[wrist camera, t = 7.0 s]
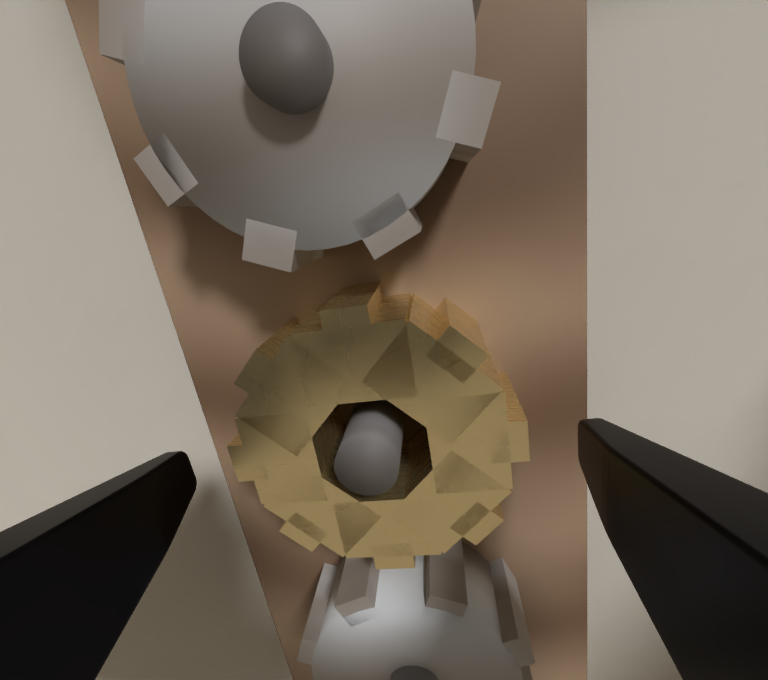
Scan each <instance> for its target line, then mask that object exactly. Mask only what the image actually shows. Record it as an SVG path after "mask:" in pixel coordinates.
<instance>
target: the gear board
mask: <svg viewBox="0 0 768 680" xmlns="http://www.w3.org/2000/svg"><path fill="white" fill-rule="evenodd" d="M65 2H66V5H67V7H68V10H69V13H70V16H71V19H72V22H73V25H74V28H75V31H76V34H77V37H78V40H79V43H80V46H81V49H82V52H83V55H84V58H85V61H86V64H87V67H88V70H89V73H90V76H91V79H92V82H93V85H94V88H95V91H96V94H97V97H98V100H99V103H100V106H101V109H102V112H103V115H104V118H105V121H106V124H107V127H108V130H109V133H110V136H111V138H112V141H113V144H114V147H115V150H116V153H117V156H118V159H119V162H120V165H121V168H122V171H123V174H124V177H125V180H126V183H127V186H128V189H129V192H130V195H131V198H132V201H133V204H134V207H135V210H136V213H137V216H138V219H139V222H140V225H141V228H142V231H143V234H144V237H145V240H146V243H147V246H148V249H149V252H150V255H151V258H152V261H153V264H154V267H155V270H156V272H157V275H158V278H159V281H160V284H161V287H162V290H163V293H164V296H165V299H166V302H167V305H168V308H169V311H170V314H171V317H172V320H173V323H174V326H175V329H176V332H177V335H178V338H179V341H180V344H181V347H182V350H183V353H184V356H185V359H186V362H187V365H188V368H189V371H190V374H191V377H192V380H193V383H194V386H195V389H196V392H197V395H198V398H199V401H200V403H201V406H202V409H203V412H204V415H205V418H206V421H207V424H208V427H209V430H210V433H211V436H212V439H213V442H214V445H215V448H216V451H217V454H218V457H219V460H220V463H221V466H222V469H223V472H224V475H225V478H226V481H227V484H228V487H229V490H230V493H231V496H232V499H233V502H234V505H235V508H236V511H237V514H238V517H239V520H240V523H241V526H242V529H243V532H244V535H245V537H246V540H247V543H248V546H249V549H250V552H251V555H252V558H253V561H254V564H255V567H256V570H257V573H258V576H259V579H260V582H261V585H262V588H263V591H264V594H265V597H266V600H267V603H268V606H269V609H270V612H271V615H272V618H273V621H274V624H275V627H276V630H277V633H278V636H279V639H280V642H281V645H282V648H283V651H284V654H285V657H286V660H287V663H288V666H289V668H290V671H291V674H292V677H293V680H587V482H586V479H585V477H584V474H583V472H582V469H581V466H580V463H579V458H578V423H579V421H580V420H583V419H587V0H65ZM378 281H382V286H383V292H384V296H389V295H396V294H404V293H411V296H412V295H413V294H416V295H417V296H418V297H420V298H421V299H422V300H424V301H425V302H426V303H428V304H429V305H431V306H432V307H433V308H435V309H436V308H437V307H438V306H439V304H440V303H441V302H442V301H443V299H444V298H445V297H446V298H447V299H449V300H450V301H451V302H453V303H454V304H455V305H457V306H458V307H459V308H461V309H462V310H463V311H465V312H466V313H467V314H469V315H470V316H471V317H473V318H474V319H475V320H476V321H477V324H478V326H479V329H480V331H481V334H482V336H483V339H484V341H485V344H486V346H487V348H488V350H489V352H490V355H491V357H492V360H493V362H494V365H495V367H496V370H497V372H498V373H505V372H506V374H507V376H508V378H509V380H510V382H511V385H512V387H513V389H514V391H515V394H516V396H517V398H518V400H519V403H520V405H521V407H522V409H523V411H524V414H525V416H526V418H527V420H528V436H529V452H530V461H527V462H513V463H511V470H512V483H513V489H511V491H512V492H511V493H510V494H509V495H508V496H507V497H506V498H505V499H504V500H502V501H501V502H500V503H501V508H502V512H503V516H504V521H503V522H502V523H501V524H500V525H499V526H498V527H496V528H495V529H494V530H493V531H492V532H491V533H490V534H488V535H487V536H486V537H485V538H484V539H483V540H482V541H481V542H479V543H478V544H477V545H474V544H473V543H471V542H470V541H468V540H467V539H466V538H464V537H462V538H461V539H460V540H459V541H458V542H456V543H455V544H454V545H453V546H452V547H451V548H450V549H449V550H448V551H447V552H446V553H443V552H441V555H420V556H416V560H415V568H404V569H376V567H375V563H374V559H373V557H364V558H346V556H344V557H342V556H340V555H339V554H337V553H336V552H334V551H332V550H331V549H329V548H328V547H326V546H325V545H323V544H321V543H320V544H319V545H318V546H317V547H316V548H315V549H314V550H313V551H312V552H311V551H310V550H308V549H307V548H305V547H303V546H302V545H300V544H299V543H297V542H295V541H294V540H292V539H291V538H289V537H287V536H286V535H284V534H283V533H281V532H280V531H279V530H280V528H281V526H282V524H283V522H284V519H282V518H280V517H279V516H277V515H276V514H274V513H273V512H271V511H269V510H268V509H266V508H265V507H263V506H264V504H261V502H260V498H259V495H258V492H257V489H256V486H255V483H254V481H242V482H238V479H237V476H236V473H235V470H234V467H233V464H232V461H231V458H230V455H229V452H228V449H227V445H228V444H229V443H230V442H231V441H232V439H233V438H234V437H235V436H236V435H237V433H238V429H237V426H236V423H235V420H234V418H235V417H236V416H235V414H236V413H237V411H238V410H239V408H240V407H241V405H242V404H243V402H244V401H245V399H246V398H247V396H248V395H249V394H248V393H247V392H245V391H244V390H242V389H241V388H239V387H238V386H236V385H235V384H234V382H235V381H236V379H237V378H238V376H239V374H240V373H241V371H242V370H243V368H244V367H245V365H246V363H247V362H248V360H249V359H250V357H251V356H252V354H253V352H254V351H255V350H256V349H257V348H258V347H259V346H260V345H262V344H263V343H264V342H265V341H266V340H268V339H269V338H270V337H271V336H272V335H273V334H275V333H276V332H277V331H278V330H279V329H281V328H282V327H283V326H284V325H285V324H287V323H288V322H289V321H290V320H291V319H292V318H294V319H296V320H297V321H298V322H300V323H302V322H303V321H304V320H305V319H306V318H307V317H308V316H309V315H310V314H312V313H313V312H314V311H315V310H316V309H317V308H318V307H320V306H321V305H325V304H326V303H327V302H329V301H330V300H331V299H332V298H333V297H334V296H335V295H336V294H337V293H338V292H339V291H340V290H341V289H342V288H343V287H344V286H351V285H358V284H365V283H372V282H378ZM340 408H341V412H342V417H343V421H344V422H345V423H346V424H347V427H346V430H345V433H344V436H343V438H342V441H341V444H340V446H339V449H338V452H337V454H336V457H335V460H334V471H335V474H336V476H337V478H338V480H339V481H340V483H341V484H342V485H343V486H344V487H346V488H347V489H348V490H350V491H352V492H354V493H357V494H360V495H366V496H373V495H379V494H382V493H384V492H386V491H388V490H389V489H390V488H391V487H393V485H394V484H395V482H396V481H397V478H398V474H399V466H400V457H401V449H402V440H406V439H410V438H411V437H412V436H413V435H414V434H415V432H416V431H417V430H418V429H419V428H420V427H421V426H422V424H420V423H419V422H418V421H416V420H415V419H413V418H412V417H410V416H409V415H408V414H406V413H405V412H403V411H402V410H400V409H399V408H398V407H396V406H395V405H393V404H392V403H390V402H389V401H387V400H377V401H367V402H357V403H347V404H340Z"/></svg>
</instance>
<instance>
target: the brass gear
mask: <svg viewBox="0 0 768 680" xmlns="http://www.w3.org/2000/svg"><path fill="white" fill-rule="evenodd" d="M234 384H235V385H236V386H238V387H239V388H241V389H242V390H244V391H245V392H247V393H248V394H249V395H248V396H247V398H246V399H245V401H244V402H243V404H242V405H241V407H240V408H239V410H238V411H237V413H236V414H235V416H236V417H235V418H234V420H235V423H236V426H237V429H238V433H237V435H236V436H235V437H234V438H233V439H232V441H231V442H230V443H229V444H228V445H227V449H228V452H229V455H230V458H231V461H232V464H233V467H234V470H235V473H236V476H237V479H238V482H242V481H254V483H255V486H256V489H257V492H258V495H259V498H260V502H261V504H264V506H263V507H265V508H266V509H268V510H269V511H271V512H273V513H274V514H276V515H277V516H279V517H280V518H282V519H284V522H283V524H282V526H281V528H280V530H279V531H280V532H281V533H283V534H284V535H286V536H287V537H289V538H291V539H292V540H294V541H295V542H297V543H299V544H300V545H302V546H303V547H305V548H307V549H308V550H310V551H311V552H312V551H313V550H314V549H315V548H316V547H317V546H318V545H319V544H320V543H321V544H323V545H325V546H326V547H328V548H329V549H331V550H332V551H334V552H336V553H337V554H339V555H340V556H342V557H344V556H346V558H364V557H373V559H374V563H375V567H376V569H404V568H415V560H416V556H420V555H441V552H443V553H446V552H447V551H448V550H449V549H450V548H451V547H452V546H453V545H454V544H455V543H456V542H458V541H459V540H460V539H461V538H462V537H464V538H466V539H467V540H468V541H470V542H471V543H473V544H474V545H477V544H478V543H479V542H481V541H482V540H483V539H484V538H485V537H486V536H487V535H488V534H490V533H491V532H492V531H493V530H494V529H495V528H496V527H498V526H499V525H500V524H501V523H502V522H503V521H504V516H503V512H502V508H501V503H500V502H501V501H502V500H504V499H505V498H506V497H507V496H508V495H509V494H510V493H511V492H512V491H511V489H513V483H512V470H511V463H513V462H527V461H530V452H529V436H528V420H527V418H526V416H525V414H524V411H523V409H522V407H521V405H520V403H519V400H518V398H517V396H516V394H515V391H514V389H513V387H512V385H511V382H510V380H509V378H508V376H507V374H506V372H505V373H498V372H497V370H496V367H495V365H494V362H493V360H492V357H491V355H490V352H489V350H488V348H487V346H486V344H485V341H484V339H483V336H482V334H481V331H480V329H479V326H478V324H477V321H476V320H475V319H474V318H473V317H471V316H470V315H469V314H467V313H466V312H465V311H463V310H462V309H461V308H459V307H458V306H457V305H455V304H454V303H453V302H451V301H450V300H449V299H447V298H446V297H445V298H444V299H443V301H442V302H441V303H440V304H439V306H438V307H437V308H436V309H435V308H433V307H432V306H431V305H429V304H428V303H426V302H425V301H424V300H422V299H421V298H420V297H418V296H417V295H416V294H413V295H412V296H411V293H404V294H396V295H389V296H384V292H383V286H382V281H378V282H372V283H365V284H358V285H351V286H344V287H343V288H342V289H341V290H340V291H339V292H338V293H337V294H336V295H335V296H334V297H333V298H332V299H331V300H330V301H329V302H327V303H326V304H325V305H321V306H320V307H318V308H317V309H316V310H315V311H314V312H313V313H312V314H310V315H309V316H308V317H307V318H306V319H305V320H304V321H303V322H302V323H300V322H298V321H297V320H296V319H294V318H292V319H291V320H290V321H289V322H288V323H287V324H285V325H284V326H283V327H282V328H281V329H279V330H278V331H277V332H276V333H275V334H273V335H272V336H271V337H270V338H269V339H268V340H266V341H265V342H264V343H263V344H262V345H260V346H259V347H258V348H257V349H256V350H255V351H254V352H253V354H252V356H251V357H250V359H249V360H248V362H247V363H246V365H245V367H244V368H243V370H242V371H241V373H240V374H239V376H238V378H237V379H236V381H235V382H234ZM377 400H387V401H389V402H390V403H392V404H393V405H395V406H396V407H398V408H399V409H400V410H402V411H403V412H405V413H406V414H408V415H409V416H410V417H412V418H413V419H415V420H416V421H418V422H419V423H420V424H422V426H421V427H420V428H419V429H418V430H417V431H416V432H415V434H414V435H413V436H412V437H411V438H410V439H406V440H402V449H401V457H400V466H399V474H398V478H397V481H396V482H395V484H394V485H393V487H391V488H390V489H389V490H388V491H386V492H384V493H382V494H379V495H373V496H366V495H360V494H357V493H354V492H352V491H350V490H348V489H347V488H346V487H344V486H343V485H342V484H341V483H340V481H339V480H338V478H337V476H336V474H335V471H334V460H335V457H336V454H337V452H338V449H339V446H340V444H341V441H342V438H343V436H344V433H345V430H346V427H347V424H346V423H345V422H344V421H343V417H342V412H341V408H340V404H347V403H357V402H367V401H377Z"/></svg>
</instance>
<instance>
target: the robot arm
mask: <svg viewBox="0 0 768 680" xmlns="http://www.w3.org/2000/svg"><path fill="white" fill-rule="evenodd" d="M578 458H579V463H580V466H581V469H582V472H583V474H584V477H585V479H586V482H587V484H588V487H589V490H590V492H591V495H592V497H593V500H594V503H595V505H596V508H597V510H598V513H599V516H600V518H601V521H602V523H603V526H604V528H605V531H606V533H607V535H608V537H609V539H610V541H611V543H612V545H613V547H614V549H615V551H616V553H617V555H618V557H619V559H620V560H621V562H622V564H623V566H624V568H625V570H626V572H627V574H628V576H629V578H630V580H631V581H632V583H633V585H634V587H635V589H636V591H637V593H638V595H639V597H640V599H641V601H642V602H643V604H644V606H645V608H646V610H647V612H648V614H649V616H650V618H651V620H652V622H653V623H654V625H655V627H656V629H657V631H658V633H659V635H660V637H661V639H662V641H663V643H664V644H665V646H666V648H667V650H668V652H669V654H670V656H671V658H672V660H673V662H674V664H675V665H676V667H677V669H678V671H679V673H680V675H681V677H682V679H683V680H768V493H766V492H764V491H762V490H759V489H757V488H755V487H753V486H751V485H748V484H746V483H744V482H742V481H739V480H737V479H735V478H733V477H730V476H728V475H726V474H724V473H722V472H719V471H717V470H715V469H713V468H710V467H708V466H706V465H704V464H701V463H699V462H697V461H695V460H693V459H690V458H688V457H686V456H684V455H681V454H679V453H677V452H675V451H672V450H670V449H668V448H666V447H664V446H661V445H659V444H657V443H655V442H652V441H650V440H648V439H646V438H643V437H641V436H639V435H637V434H635V433H632V432H630V431H628V430H626V429H623V428H621V427H619V426H617V425H614V424H612V423H610V422H608V421H606V420H603V419H601V418H594V419H583V420H580V421H579V423H578ZM196 484H197V482H196V477H195V474H194V472H193V469H192V466H191V463H190V461H189V458H188V456H187V454H186V453H185V452H182V451H177V452H167V453H164V454H162V455H160V456H158V457H156V458H154V459H152V460H150V461H148V462H146V463H144V464H142V465H139V466H137V467H135V468H133V469H131V470H129V471H127V472H125V473H123V474H121V475H119V476H116V477H114V478H112V479H110V480H108V481H106V482H104V483H102V484H100V485H98V486H96V487H93V488H91V489H89V490H87V491H85V492H83V493H81V494H79V495H77V496H75V497H73V498H71V499H68V500H66V501H64V502H62V503H60V504H58V505H56V506H54V507H52V508H50V509H48V510H45V511H43V512H41V513H39V514H37V515H35V516H33V517H31V518H29V519H27V520H25V521H22V522H20V523H18V524H16V525H14V526H12V527H10V528H8V529H6V530H4V531H2V532H0V680H95V679H96V677H97V675H98V674H99V672H100V670H101V668H102V666H103V665H104V663H105V661H106V659H107V658H108V656H109V654H110V652H111V651H112V649H113V647H114V645H115V643H116V642H117V640H118V638H119V636H120V635H121V633H122V631H123V629H124V627H125V626H126V624H127V622H128V620H129V619H130V617H131V615H132V613H133V612H134V610H135V608H136V606H137V604H138V603H139V601H140V599H141V597H142V596H143V594H144V592H145V590H146V588H147V587H148V585H149V583H150V581H151V580H152V578H153V576H154V574H155V573H156V571H157V569H158V567H159V565H160V564H161V562H162V560H163V558H164V556H165V555H166V553H167V551H168V549H169V547H170V545H171V543H172V541H173V538H174V536H175V534H176V532H177V530H178V527H179V525H180V523H181V521H182V519H183V516H184V514H185V512H186V510H187V508H188V505H189V503H190V501H191V499H192V497H193V494H194V492H195V490H196Z"/></svg>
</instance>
